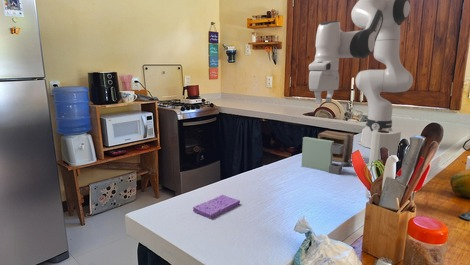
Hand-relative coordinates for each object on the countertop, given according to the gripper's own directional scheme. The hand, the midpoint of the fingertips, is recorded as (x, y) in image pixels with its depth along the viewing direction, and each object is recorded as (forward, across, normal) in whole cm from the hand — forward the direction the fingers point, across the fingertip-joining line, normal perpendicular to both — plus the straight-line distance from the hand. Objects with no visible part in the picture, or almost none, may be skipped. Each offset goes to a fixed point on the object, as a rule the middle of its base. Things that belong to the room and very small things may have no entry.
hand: (323, 102), depth 121 cm
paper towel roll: (+27, +16, +26) cm, 41 cm away
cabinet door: (+27, 0, +1) cm, 27 cm away
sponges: (+28, +52, -8) cm, 60 cm away
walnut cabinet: (+26, -17, 0) cm, 31 cm away
